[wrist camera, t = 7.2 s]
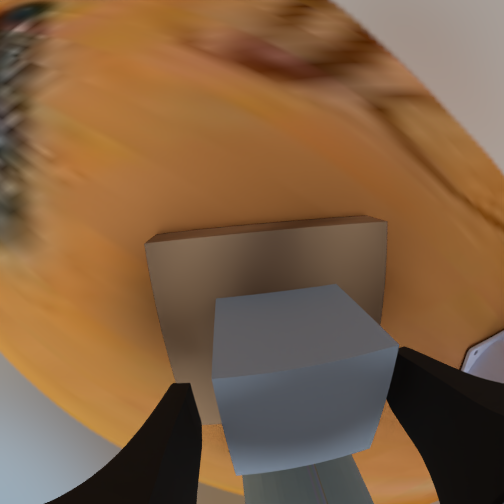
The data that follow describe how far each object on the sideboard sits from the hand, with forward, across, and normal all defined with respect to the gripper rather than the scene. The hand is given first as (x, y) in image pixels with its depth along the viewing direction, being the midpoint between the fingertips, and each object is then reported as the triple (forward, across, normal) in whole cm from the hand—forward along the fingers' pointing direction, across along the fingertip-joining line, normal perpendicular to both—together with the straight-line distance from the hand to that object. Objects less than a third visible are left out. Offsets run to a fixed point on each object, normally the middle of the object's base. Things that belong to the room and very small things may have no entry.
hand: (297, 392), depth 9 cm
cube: (+3, 0, 0) cm, 3 cm away
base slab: (+5, 0, 0) cm, 5 cm away
